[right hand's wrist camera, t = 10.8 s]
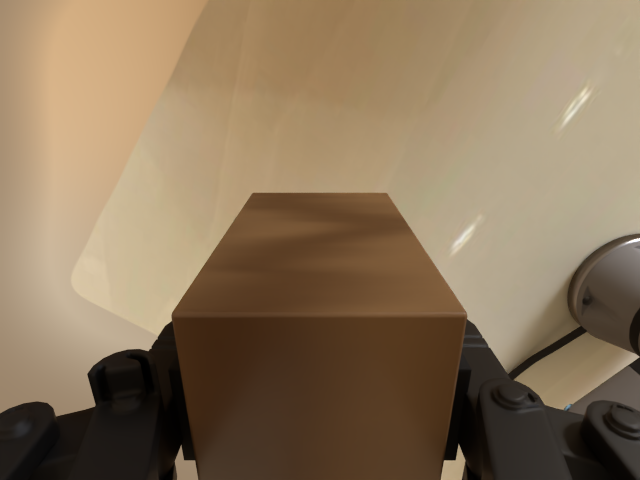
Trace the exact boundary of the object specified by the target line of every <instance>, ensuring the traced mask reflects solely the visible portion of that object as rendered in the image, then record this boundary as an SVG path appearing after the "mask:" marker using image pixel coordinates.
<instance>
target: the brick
mask: <svg viewBox="0 0 640 480" xmlns="http://www.w3.org/2000/svg"><path fill="white" fill-rule="evenodd" d="M466 321H467V313H466V311H465V310H464V308H463V307H462V305H461V304H460V302H459V301H458V299H457V298H456V296H455V295H454V293H453V292H452V290H451V289H450V287H449V286H448V284H447V283H446V281H445V280H444V278H443V277H442V275H441V274H440V272H439V271H438V269H437V268H436V266H435V265H434V263H433V262H432V260H431V259H430V257H429V256H428V254H427V253H426V251H425V250H424V248H423V247H422V245H421V244H420V242H419V241H418V239H417V238H416V236H415V235H414V233H413V232H412V230H411V229H410V227H409V226H408V224H407V223H406V221H405V220H404V218H403V217H402V215H401V214H400V212H399V211H398V209H397V208H396V206H395V205H394V203H393V202H392V200H391V199H390V197H389V196H388V194H387V193H253V194H252V195H251V196H250V198H249V199H248V201H247V202H246V204H245V205H244V207H243V208H242V210H241V211H240V213H239V214H238V216H237V217H236V219H235V220H234V222H233V223H232V225H231V226H230V228H229V229H228V231H227V232H226V233H225V235H224V236H223V238H222V239H221V241H220V242H219V244H218V245H217V247H216V248H215V250H214V251H213V253H212V254H211V256H210V257H209V259H208V260H207V262H206V263H205V265H204V266H203V268H202V269H201V271H200V272H199V274H198V275H197V277H196V278H195V280H194V281H193V283H192V284H191V286H190V287H189V289H188V290H187V292H186V293H185V295H184V296H183V298H182V299H181V301H180V302H179V304H178V305H177V306H176V308H175V309H174V311H173V313H172V322H173V328H174V334H175V340H176V346H177V352H178V359H179V365H180V371H181V377H182V383H183V389H184V395H185V401H186V407H187V413H188V419H189V425H190V431H191V437H192V443H193V449H194V455H195V461H196V468H197V473H198V480H441V474H442V468H443V462H444V456H445V449H446V443H447V437H448V431H449V425H450V419H451V413H452V407H453V401H454V395H455V388H456V382H457V376H458V370H459V364H460V358H461V352H462V346H463V340H464V334H465V327H466Z"/></svg>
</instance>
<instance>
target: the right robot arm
mask: <svg viewBox="0 0 640 480" xmlns="http://www.w3.org/2000/svg"><path fill="white" fill-rule="evenodd" d="M568 306H569V310H570V312H571V315H572V316H573V318H574V319H575V321H576V322H577V323H578V324H579V325H580V327H579V328H577V329H575V330H574V331H572V332H571V333H569V334H568V335H566V336H564V337H563V338H561V339H560V340H558V341H556V342H555V343H553V344H552V345H550V346H548V347H546V348H545V349H543V350H541V351H539V352H538V353H536V354H534V355H533V356H531V357H530V358H528V359H527V360H526V361H524V362H523V363H522V364H520V365H519V366H518V367H517V368H515V369H514V370H513V371H512V372H511V373H510V374H507V373H506V371H505V370H504V368H503V367H502V365H501V364H500V362H499V361H498V359H497V358H496V356H495V355H494V353H493V352H492V350H491V349H490V348H489V347H488V344H487V343H486V341H485V340H484V338H482V335H481V334H480V332H479V331H478V329H477V328H476V326H475V325H474V324H473V323H471V322H470V321H469V320H467V321H466V327H465V334H464V340H463V346H462V352H461V358H460V364H459V370H458V376H457V382H456V388H455V395H454V401H453V407H452V413H451V419H450V425H449V431H448V437H447V443H446V449H445V456H444V460H456V455H457V449H458V444H459V445H460V448H461V450H462V453H463V455H464V458H465V460H466V461H465V466H464V471H463V477H462V480H640V234H634V235H629V236H624V237H621V238H618V239H616V240H613V241H611V242H609V243H607V244H605V245H604V246H602V247H600V248H599V249H597V250H596V251H595V252H593V253H592V254H591V255H590V256H589V257H588V258H587V259H586V260H585V261H584V262H583V263H582V264H581V266H580V267H579V268H578V270H577V271H576V273H575V275H574V276H573V278H572V281H571V283H570V287H569V291H568ZM585 332H588V333H590V334H591V335H593V336H594V337H596V338H599V339H601V340H603V341H606V342H608V343H611V344H613V345H616V346H618V347H621V348H623V349H626V350H628V351H630V352H633V353H635V354H637V355H638V356H639V358H638V359H637V360H635V361H634V362H632V363H631V364H630V365H628V366H626V367H625V368H624V369H622V370H621V371H619V372H618V373H616V374H615V375H614V376H612V377H611V378H609V379H608V380H607V381H605V382H604V383H602V384H601V385H599V386H598V387H597V388H595V389H594V390H592V391H591V392H590V393H588V394H587V395H585V396H584V397H582V398H581V399H580V400H578V401H577V402H575V403H574V404H569V405H568V406H566V407H565V408H564V410H560V409H556V408H552V407H549V406H546V405H544V403H543V402H542V400H541V398H540V397H539V395H537V394H536V393H535V392H534V391H533V390H531V389H530V388H529V387H527V386H525V385H523V384H521V383H519V382H517V381H514V379H515V378H516V377H517V376H518V375H520V374H521V373H522V372H523V371H525V370H526V369H527V368H529V367H530V366H531V365H533V364H534V363H536V362H537V361H539V360H540V359H542V358H544V357H545V356H547V355H549V354H551V353H553V352H554V351H556V350H558V349H559V348H561V347H563V346H564V345H566V344H567V343H569V342H571V341H572V340H574V339H576V338H577V337H579V336H580V335H582V334H584V333H585ZM88 378H89V382H90V386H91V389H92V393H93V396H94V400H95V404H96V406H95V407H93V408H89V409H86V410H82V411H78V412H74V413H70V414H65V415H61V416H57V417H56V415H55V412H54V409H53V408H52V407H51V406H50V405H49V404H48V403H43V402H31V403H24V404H21V405H18V406H15V407H12V408H9V409H8V410H6V411H4V412H2V413H0V480H177V473H176V466H175V459H176V456H177V454H178V451H179V449H180V446H181V445H182V450H183V456H184V460H195V455H194V449H193V443H192V437H191V431H190V425H189V419H188V413H187V407H186V401H185V395H184V389H183V383H182V377H181V371H180V365H179V359H178V352H177V346H176V340H175V334H174V328H173V322H170V323H169V324H167V325H166V326H165V327H164V329H163V330H162V332H161V333H160V335H159V336H158V340H156V341H155V342H154V344H153V345H152V349H150V350H149V351H145V350H141V349H132V350H125V351H121V352H117V353H114V354H112V355H110V356H108V357H105V358H103V359H102V360H101V361H99V362H98V363H97V364H95V365H94V366H93V367H92V368H91V370H90V371H89V373H88Z"/></svg>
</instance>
